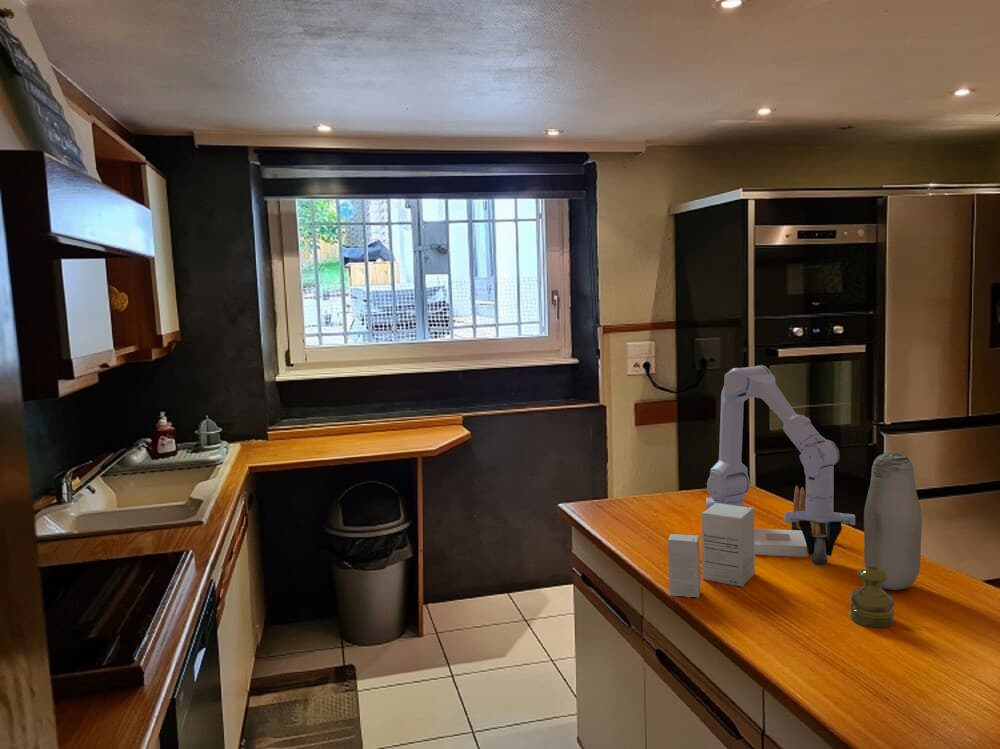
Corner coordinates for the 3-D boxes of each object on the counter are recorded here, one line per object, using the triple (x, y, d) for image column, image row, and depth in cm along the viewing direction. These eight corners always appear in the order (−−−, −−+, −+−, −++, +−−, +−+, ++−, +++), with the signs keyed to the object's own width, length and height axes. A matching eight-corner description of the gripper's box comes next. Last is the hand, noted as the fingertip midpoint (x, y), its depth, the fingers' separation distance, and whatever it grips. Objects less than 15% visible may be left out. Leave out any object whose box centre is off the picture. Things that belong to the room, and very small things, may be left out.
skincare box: (700, 591, 157) (699, 535, 155) (699, 599, 153) (698, 541, 151) (671, 588, 159) (670, 533, 157) (668, 596, 155) (667, 539, 153)
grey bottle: (874, 574, 161) (875, 446, 158) (926, 586, 154) (929, 452, 151) (856, 588, 154) (857, 454, 152) (910, 601, 147) (912, 461, 144)
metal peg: (812, 564, 169) (812, 538, 168) (809, 559, 172) (810, 533, 171) (828, 565, 168) (829, 539, 167) (826, 559, 171) (826, 534, 171)
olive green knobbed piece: (892, 632, 135) (893, 578, 134) (847, 623, 139) (847, 571, 138) (896, 616, 141) (896, 564, 140) (852, 609, 145) (852, 558, 144)
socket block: (753, 554, 176) (753, 544, 176) (750, 538, 188) (750, 528, 188) (808, 557, 173) (808, 546, 173) (801, 540, 185) (801, 530, 185)
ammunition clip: (830, 541, 184) (831, 493, 182) (825, 542, 183) (825, 494, 182) (796, 529, 193) (796, 484, 192) (791, 530, 192) (791, 485, 191)
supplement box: (715, 566, 170) (714, 501, 168) (755, 573, 165) (755, 507, 163) (701, 579, 163) (700, 512, 161) (742, 587, 157) (742, 517, 156)
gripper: (786, 498, 166) (787, 558, 168) (858, 500, 163) (857, 561, 164) (783, 490, 173) (783, 547, 175) (852, 492, 169) (851, 550, 171)
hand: (819, 553), depth 170 cm, fingers closed on metal peg, 3 cm apart
